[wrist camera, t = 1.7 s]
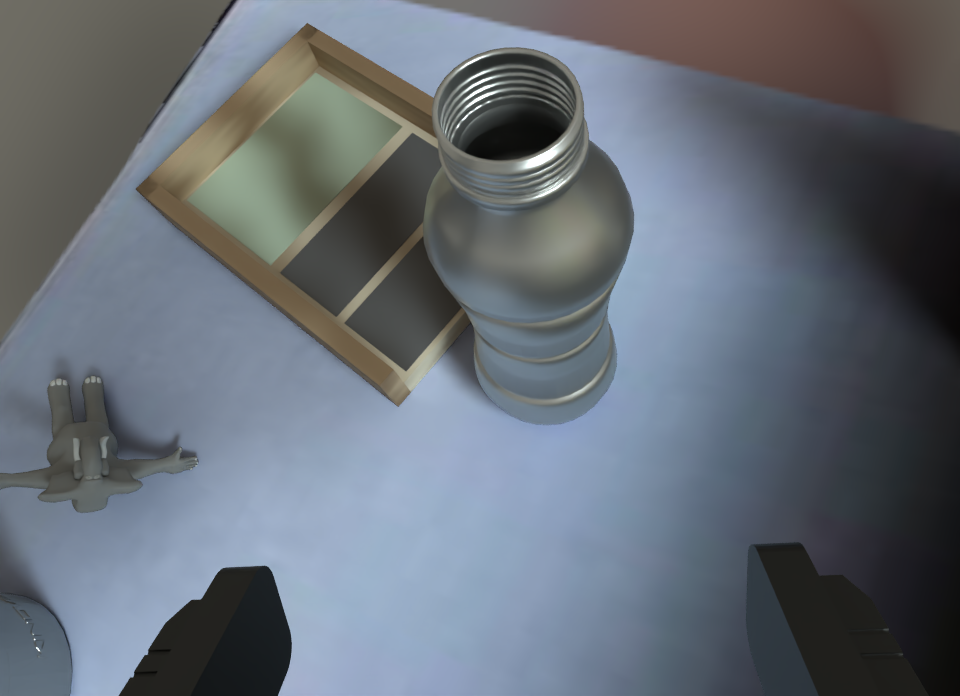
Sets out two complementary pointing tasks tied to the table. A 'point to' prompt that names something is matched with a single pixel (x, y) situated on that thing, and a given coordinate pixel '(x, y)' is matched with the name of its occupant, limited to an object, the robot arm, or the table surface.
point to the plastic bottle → (528, 231)
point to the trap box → (323, 206)
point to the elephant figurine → (88, 455)
